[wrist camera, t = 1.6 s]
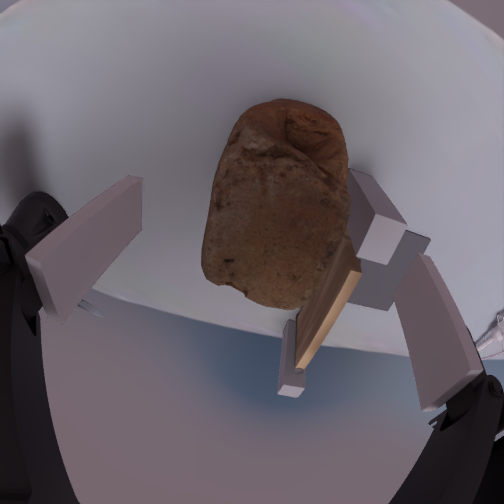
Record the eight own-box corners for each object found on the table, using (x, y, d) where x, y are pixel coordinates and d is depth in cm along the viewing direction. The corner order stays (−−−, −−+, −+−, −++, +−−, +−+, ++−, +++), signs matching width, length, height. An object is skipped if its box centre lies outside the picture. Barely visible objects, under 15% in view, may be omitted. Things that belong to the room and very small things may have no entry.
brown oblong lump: (302, 198, 32) (306, 331, 16) (241, 179, 32) (179, 294, 15) (334, 111, 26) (399, 152, 9) (266, 89, 26) (216, 90, 9)
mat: (324, 295, 40) (324, 296, 39) (361, 214, 32) (361, 215, 32) (387, 309, 40) (387, 311, 39) (430, 238, 32) (430, 240, 32)
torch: (444, 329, 52) (533, 292, 31) (451, 364, 48) (541, 334, 28) (432, 336, 49) (530, 297, 28) (440, 373, 46) (539, 343, 25)
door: (295, 319, 42) (291, 372, 34) (337, 220, 32) (350, 270, 24) (310, 322, 42) (309, 375, 34) (356, 226, 32) (373, 276, 24)
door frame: (283, 331, 45) (277, 394, 35) (348, 168, 29) (375, 213, 19) (300, 334, 45) (297, 397, 35) (372, 176, 29) (407, 224, 19)
